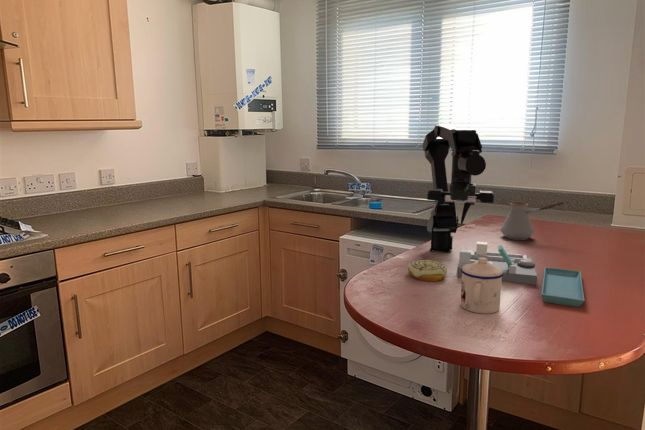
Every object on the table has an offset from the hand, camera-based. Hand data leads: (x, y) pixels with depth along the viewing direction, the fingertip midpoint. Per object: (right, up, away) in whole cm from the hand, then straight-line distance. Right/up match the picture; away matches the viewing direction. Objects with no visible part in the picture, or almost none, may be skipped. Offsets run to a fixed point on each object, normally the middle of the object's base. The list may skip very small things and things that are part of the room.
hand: (458, 224), depth 143 cm
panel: (+9, -13, -6) cm, 17 cm away
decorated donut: (-12, -15, -10) cm, 21 cm away
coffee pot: (+36, -6, +32) cm, 48 cm away
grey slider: (-1, -11, -9) cm, 15 cm away
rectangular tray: (+21, -17, -20) cm, 33 cm away
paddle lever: (+11, -11, -13) cm, 20 cm away
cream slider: (+7, -10, 0) cm, 12 cm away
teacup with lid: (-5, -19, -34) cm, 40 cm away
